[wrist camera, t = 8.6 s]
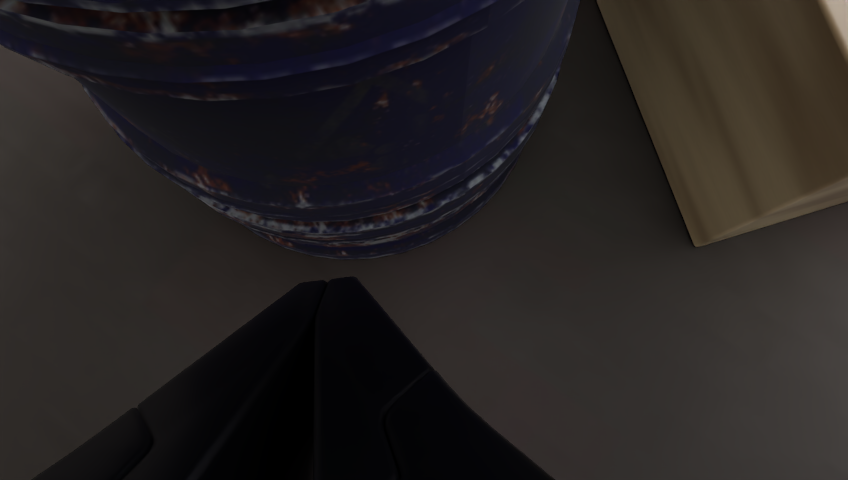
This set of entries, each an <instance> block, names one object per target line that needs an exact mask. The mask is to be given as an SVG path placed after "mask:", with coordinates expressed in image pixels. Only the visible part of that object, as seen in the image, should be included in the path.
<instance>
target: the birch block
mask: <svg viewBox="0 0 848 480" xmlns="http://www.w3.org/2000/svg"><path fill="white" fill-rule="evenodd" d="M596 1H597V3H598V6H599V8H600V11H601V13H602V16H603V18H604V21H605V23H606V26H607V29H608V31H609V34H610V36H611V39H612V41H613V44H614V46H615V49H616V51H617V54H618V56H619V59H620V61H621V64H622V66H623V69H624V71H625V74H626V76H627V79H628V81H629V84H630V86H631V89H632V91H633V94H634V96H635V99H636V101H637V104H638V106H639V109H640V111H641V114H642V116H643V119H644V121H645V124H646V126H647V129H648V131H649V134H650V136H651V139H652V141H653V144H654V146H655V149H656V151H657V154H658V156H659V159H660V161H661V164H662V166H663V169H664V171H665V174H666V176H667V179H668V181H669V184H670V186H671V189H672V191H673V194H674V196H675V199H676V201H677V204H678V206H679V209H680V211H681V214H682V216H683V219H684V221H685V224H686V226H687V229H688V231H689V234H690V236H691V239H692V241H693V244H694V246H695V247H701V246H704V245H707V244H710V243H714V242H717V241H720V240H724V239H727V238H730V237H733V236H737V235H740V234H743V233H746V232H750V231H753V230H756V229H759V228H763V227H766V226H769V225H772V224H776V223H779V222H782V221H785V220H789V219H792V218H795V217H799V216H802V215H805V214H808V213H812V212H815V211H818V210H821V209H825V208H828V207H831V206H834V205H838V204H841V203H844V202H847V201H848V0H596Z"/></svg>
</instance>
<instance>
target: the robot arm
mask: <svg viewBox="0 0 848 480" xmlns="http://www.w3.org/2000/svg"><path fill="white" fill-rule="evenodd" d="M137 408H138V409H137ZM137 408H131V409H130V410H129V411H127V412H126V413H125V414H123V415H122V416H121V417H120V418H118V419H117V420H116V421H114V422H113V423H112V424H110V425H109V426H108V427H106V428H105V429H103V430H102V431H101V432H99V433H98V434H96V435H95V436H94V437H92V438H91V439H90V440H88V441H87V442H85V443H84V444H83V445H81V446H80V447H78V448H77V449H76V450H74V451H73V452H72V453H70V454H69V455H67V456H66V457H64V458H63V459H61V460H60V461H58V462H57V463H55V464H54V465H52V466H51V467H49V468H48V469H46V470H45V471H43V472H42V473H40V474H39V475H37V476H36V477H34V478H33V479H31V480H555V479H554V478H552V477H551V476H550V475H549V474H548V473H546V472H545V471H544V470H543V469H542V468H540V467H539V466H538V465H537V464H536V463H534V462H533V461H532V460H531V459H529V458H528V457H527V456H526V455H525V454H523V453H522V452H521V451H520V450H519V449H517V448H516V447H515V446H514V445H513V444H511V443H510V442H509V441H508V440H507V439H505V438H504V437H503V436H502V435H501V434H499V433H498V432H497V431H496V430H494V429H493V428H492V427H491V426H490V425H489V424H488V423H487V422H485V421H484V420H483V419H482V418H481V417H480V416H479V415H478V414H476V413H475V412H474V411H473V410H472V409H471V408H470V407H469V406H468V405H467V404H466V403H465V402H464V401H463V400H462V399H461V398H460V397H459V396H458V395H457V394H456V393H455V392H454V391H453V389H452V388H451V387H450V386H449V385H448V384H447V383H446V382H445V380H444V379H443V378H442V377H441V376H440V375H439V373H438V372H437V371H435V370H434V369H433V367H432V366H431V365H430V364H429V363H428V362H427V360H426V359H425V358H424V357H423V356H422V354H421V353H420V352H419V351H418V350H417V349H416V347H415V346H414V345H413V344H412V343H411V341H410V340H409V339H408V338H407V337H406V336H405V334H404V333H403V332H402V331H401V330H400V328H399V327H398V326H397V325H396V324H395V323H394V321H393V320H392V319H391V318H390V317H389V315H388V314H387V313H386V312H385V311H384V310H383V308H382V307H381V306H380V305H379V304H378V302H377V301H376V300H375V299H374V298H373V297H372V295H371V294H370V293H369V292H368V291H367V289H366V288H365V287H364V286H363V285H362V284H361V282H360V281H359V280H358V279H357V278H356V277H344V278H336V279H331V280H330V281H329V282H328V283H327V282H326V281H324V280H320V281H311V282H303V283H300V284H298V285H297V286H295V287H294V288H293V289H291V290H290V291H289V292H287V293H286V294H285V295H283V296H282V297H281V298H279V299H278V300H277V301H275V302H274V303H273V304H271V305H270V306H269V307H267V308H266V309H265V310H263V311H262V312H261V313H259V314H258V315H257V316H255V317H254V318H253V319H251V320H250V321H249V322H247V323H246V324H245V325H243V326H242V327H241V328H239V329H238V330H237V331H235V332H234V333H233V334H232V335H230V336H229V337H228V338H226V339H225V340H224V341H222V342H221V343H220V344H218V345H217V346H216V347H214V348H213V349H212V350H210V351H209V352H208V353H206V354H205V355H204V356H202V357H201V358H200V359H198V360H197V361H196V362H194V363H193V364H192V365H190V366H189V367H188V368H186V369H185V370H184V371H182V372H181V373H180V374H178V375H177V376H176V377H174V378H173V379H172V380H170V381H169V382H168V383H166V384H165V385H164V386H162V387H161V388H160V389H158V390H157V391H156V392H154V393H153V394H152V395H150V396H149V397H148V398H146V399H145V400H144V401H142V402H141V403H140V404H139V405H138V407H137Z"/></svg>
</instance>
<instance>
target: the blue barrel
mask: <svg viewBox="0 0 848 480" xmlns="http://www.w3.org/2000/svg"><path fill="white" fill-rule="evenodd" d="M579 3H580V0H0V44H1V45H2V46H4V47H5V48H8V49H10V50H12V51H14V52H16V53H19V54H21V55H23V56H25V57H27V58H30V59H32V60H34V61H36V62H39V63H41V64H43V65H45V66H47V67H50V68H52V69H54V70H56V71H59V72H61V73H63V74H65V75H68V76H72V77H74V78H75V79H76V80H78V81H79V82H80V83H81V84H82V86H83V88H84V90H85V91H86V93H87V94H88V96H89V97H90V98H91V100H92V101H93V103H94V104H95V105H96V107H97V108H98V109H99V111H100V112H101V114H102V115H103V116H104V118H105V119H106V121H107V122H108V123H109V124H110V125H111V126H112V128H113V129H114V130H115V132H116V133H117V134H118V136H119V137H120V139H121V140H123V141H124V142H125V143H126V144H127V145H128V146H129V147H130V148H131V149H132V150H133V151H134V152H135V153H136V154H137V155H138V156H139V157H140V158H141V159H142V160H143V161H144V162H145V163H146V164H148V165H149V166H150V167H152V168H153V169H155V170H156V171H158V172H159V173H161V174H162V175H164V176H165V177H167V178H168V179H170V180H171V181H173V182H174V183H176V184H177V185H179V186H180V187H182V188H184V189H185V190H187V191H188V192H190V193H191V194H192V195H194V196H195V197H196V198H198V199H199V200H201V201H202V202H204V203H205V204H207V205H208V206H210V207H211V208H213V209H214V210H215V211H217V212H218V213H220V214H221V215H223V216H226V217H228V218H230V219H232V220H234V221H236V222H238V223H241V224H242V225H244V226H245V227H247V228H248V229H249V230H251V231H252V232H254V233H255V234H257V235H258V236H260V237H262V238H264V239H267V240H269V241H271V242H273V243H275V244H277V245H279V246H281V247H284V248H286V249H290V250H293V251H297V252H300V253H304V254H307V255H311V256H317V257H325V258H333V259H341V260H346V259H373V258H378V257H383V256H388V255H394V254H399V253H403V252H406V251H409V250H411V249H414V248H417V247H420V246H422V245H425V244H428V243H431V242H432V241H434V240H436V239H438V238H440V237H442V236H443V235H445V234H447V233H449V232H451V231H453V230H454V229H456V228H457V227H459V226H460V225H461V224H463V223H464V222H465V221H467V220H468V219H469V218H470V217H472V216H473V215H474V214H476V213H477V212H478V211H479V210H480V209H481V208H482V207H483V206H484V205H485V204H486V203H487V202H488V201H489V200H490V199H491V198H492V197H493V196H494V195H495V193H496V192H497V191H498V190H499V189H500V188H501V186H502V185H503V183H504V182H505V180H506V179H507V177H508V176H509V174H510V173H511V171H512V170H513V168H514V167H515V165H516V163H517V160H518V158H519V156H520V154H521V152H522V150H523V147H524V145H525V144H526V142H527V141H528V139H529V138H530V136H531V135H532V133H533V132H534V130H535V128H536V126H537V124H538V122H539V120H540V118H541V115H542V113H543V111H544V109H545V107H546V104H547V102H548V100H549V98H550V95H551V93H552V91H553V88H554V86H555V84H556V81H557V79H558V75H559V71H560V67H561V64H562V60H563V56H564V54H565V52H566V50H567V46H568V43H569V39H570V36H571V32H572V29H573V25H574V22H575V18H576V15H577V10H578V7H579Z"/></svg>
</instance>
